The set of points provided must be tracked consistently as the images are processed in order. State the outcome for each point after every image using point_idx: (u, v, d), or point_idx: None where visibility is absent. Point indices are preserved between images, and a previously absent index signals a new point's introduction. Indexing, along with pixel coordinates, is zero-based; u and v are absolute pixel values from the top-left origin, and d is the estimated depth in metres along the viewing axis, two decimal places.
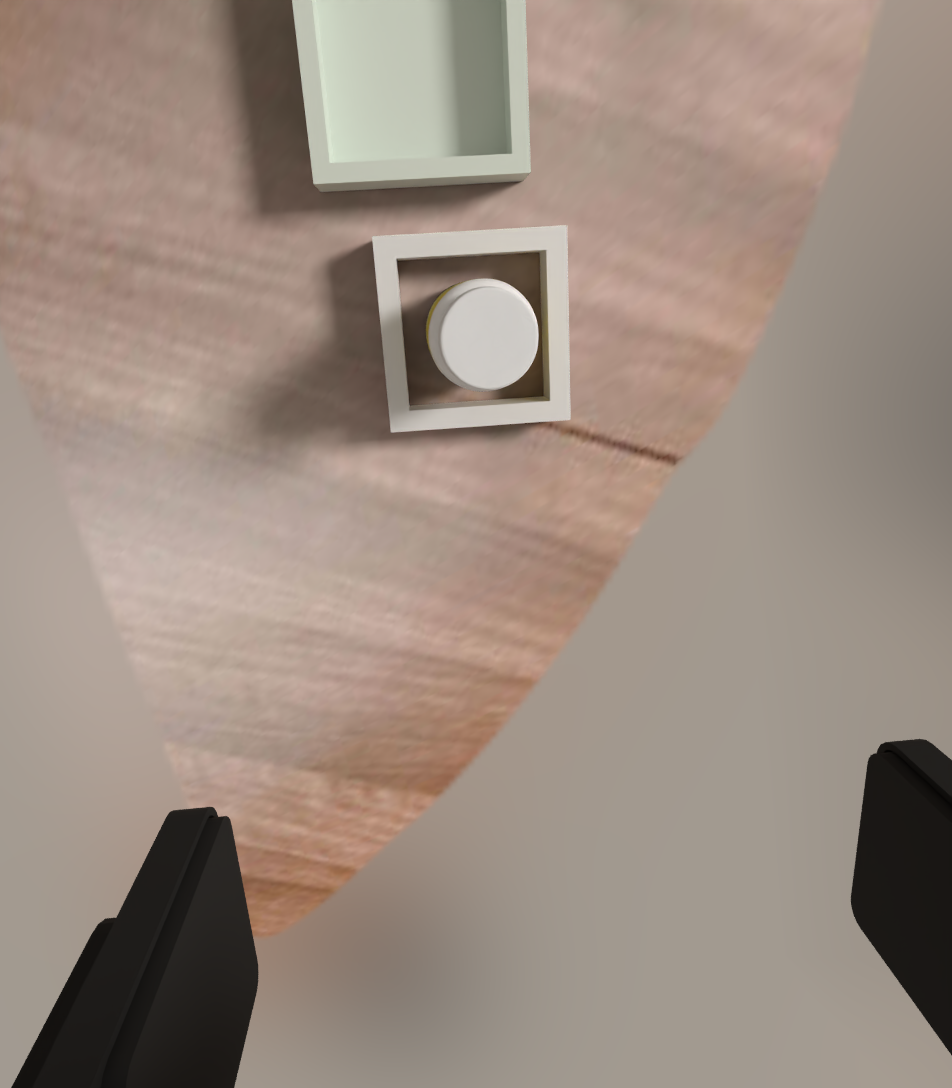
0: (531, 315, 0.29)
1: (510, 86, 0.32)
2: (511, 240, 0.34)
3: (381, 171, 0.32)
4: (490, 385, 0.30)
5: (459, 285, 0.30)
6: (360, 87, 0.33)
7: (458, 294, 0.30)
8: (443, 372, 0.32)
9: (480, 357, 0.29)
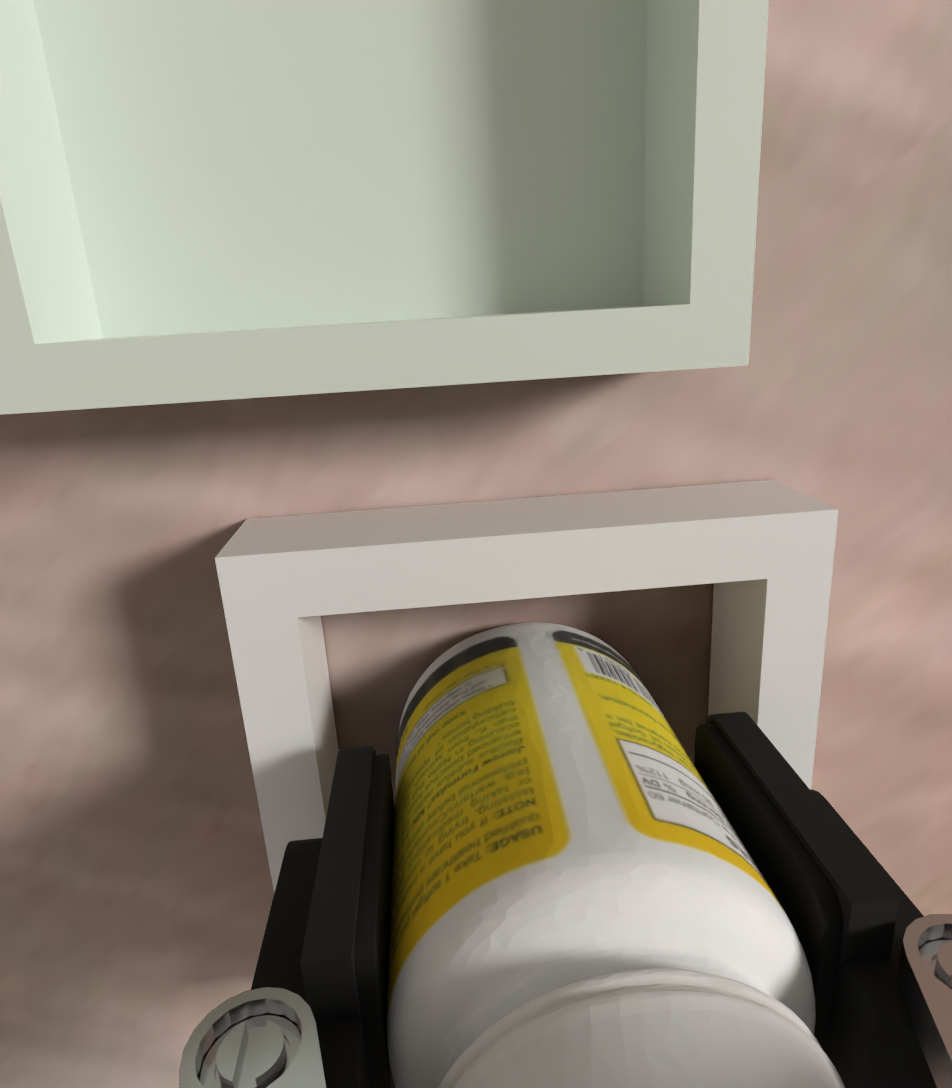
0: None
1: (700, 67, 0.08)
2: (662, 556, 0.11)
3: (227, 369, 0.09)
4: None
5: (513, 891, 0.07)
6: (169, 74, 0.10)
7: (510, 948, 0.07)
8: None
9: None
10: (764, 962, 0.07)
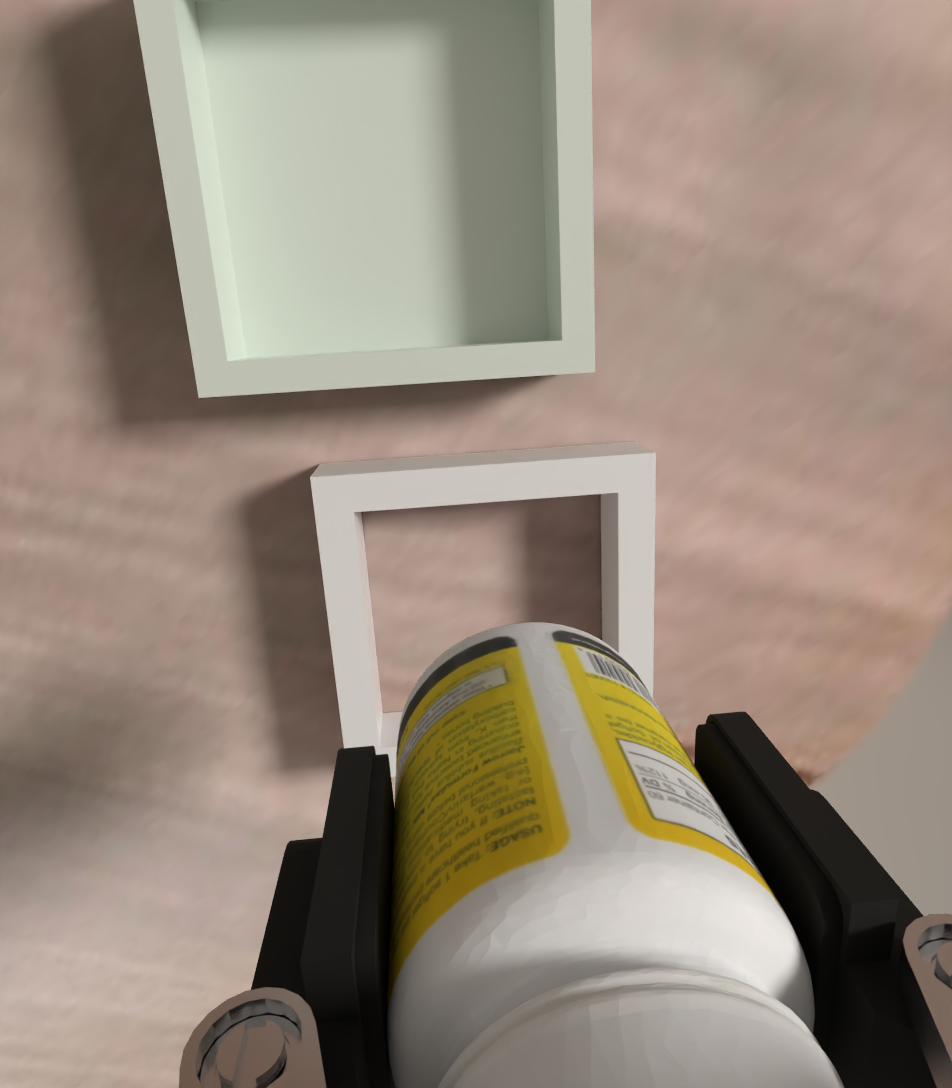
0: None
1: (561, 225, 0.17)
2: (557, 479, 0.19)
3: (323, 374, 0.18)
4: None
5: (513, 890, 0.07)
6: (289, 219, 0.18)
7: (510, 948, 0.07)
8: None
9: None
10: (763, 961, 0.07)
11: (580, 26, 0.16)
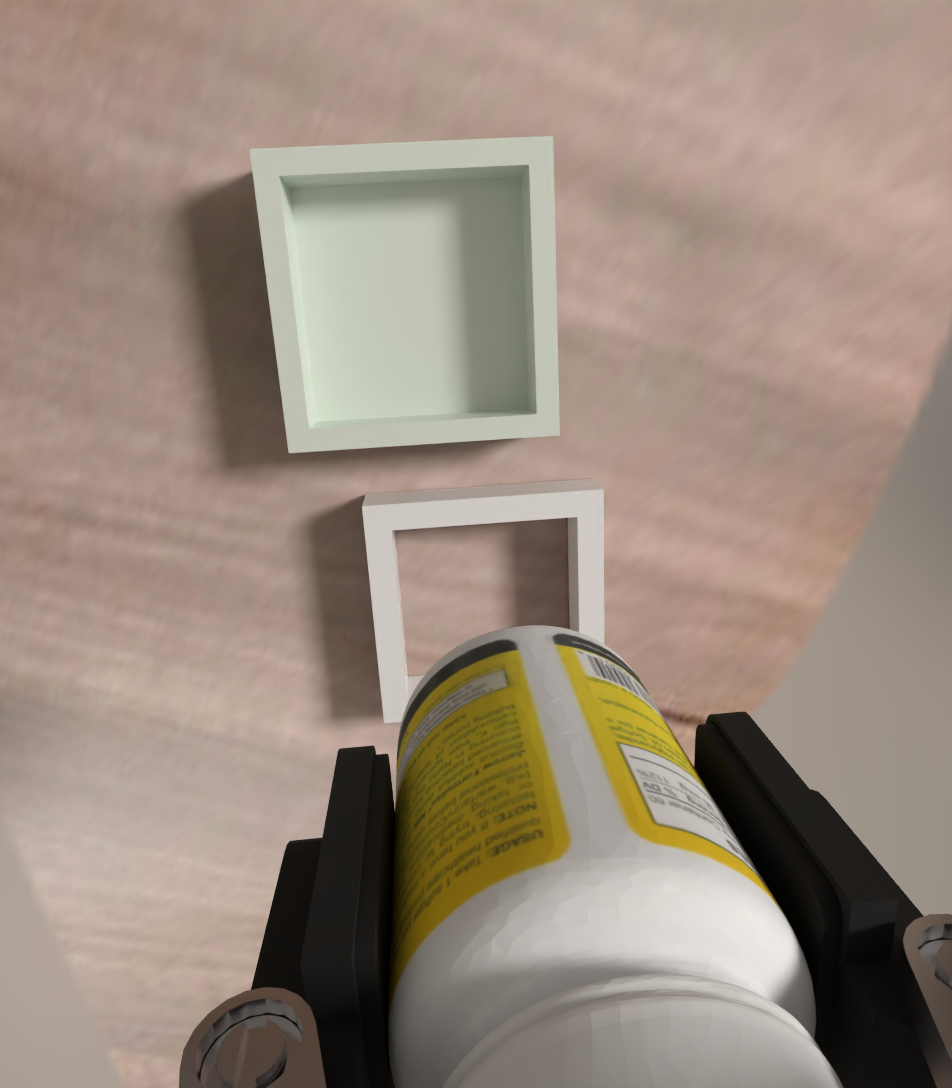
0: None
1: (535, 338, 0.25)
2: (534, 507, 0.27)
3: (373, 437, 0.26)
4: None
5: (514, 895, 0.07)
6: (349, 328, 0.27)
7: (511, 953, 0.07)
8: None
9: None
10: (764, 967, 0.07)
11: (547, 212, 0.24)
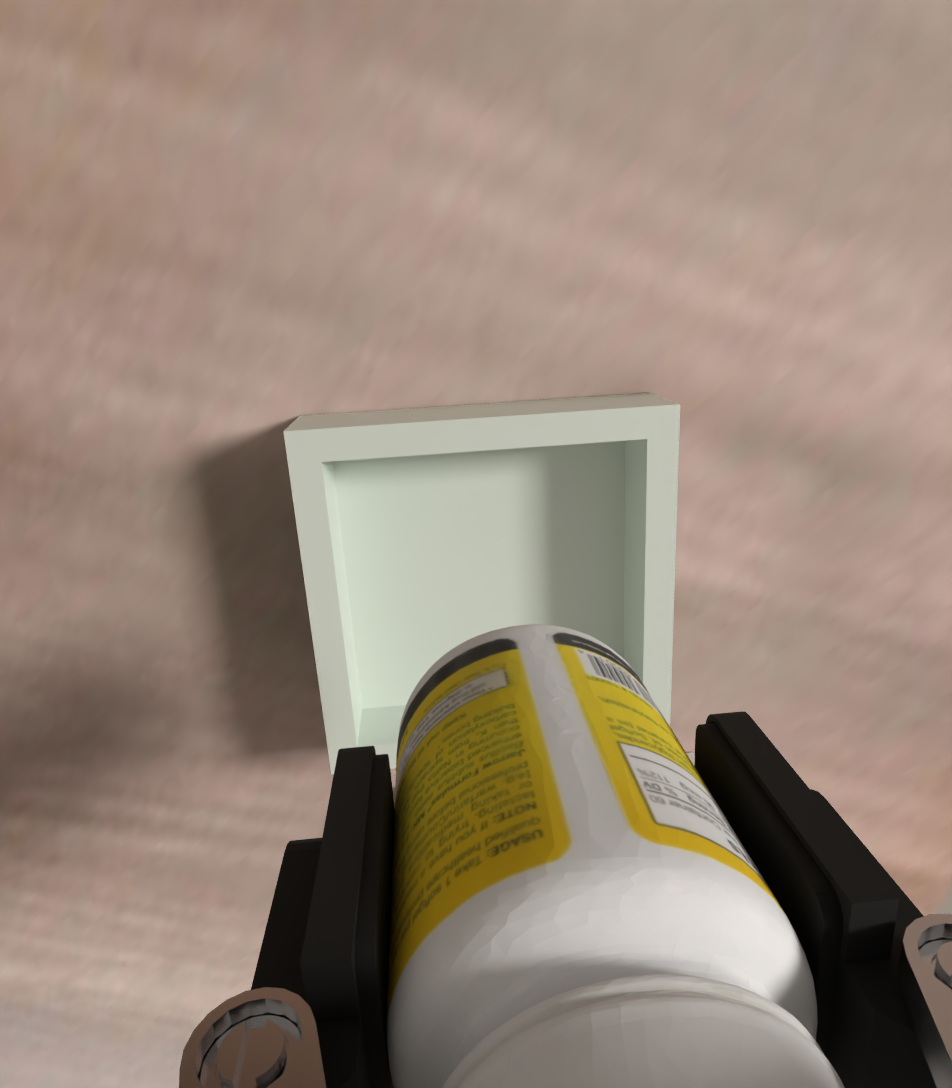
0: None
1: (645, 637, 0.20)
2: None
3: None
4: None
5: (514, 896, 0.07)
6: (404, 604, 0.21)
7: (511, 954, 0.07)
8: None
9: None
10: (766, 967, 0.07)
11: (668, 494, 0.19)
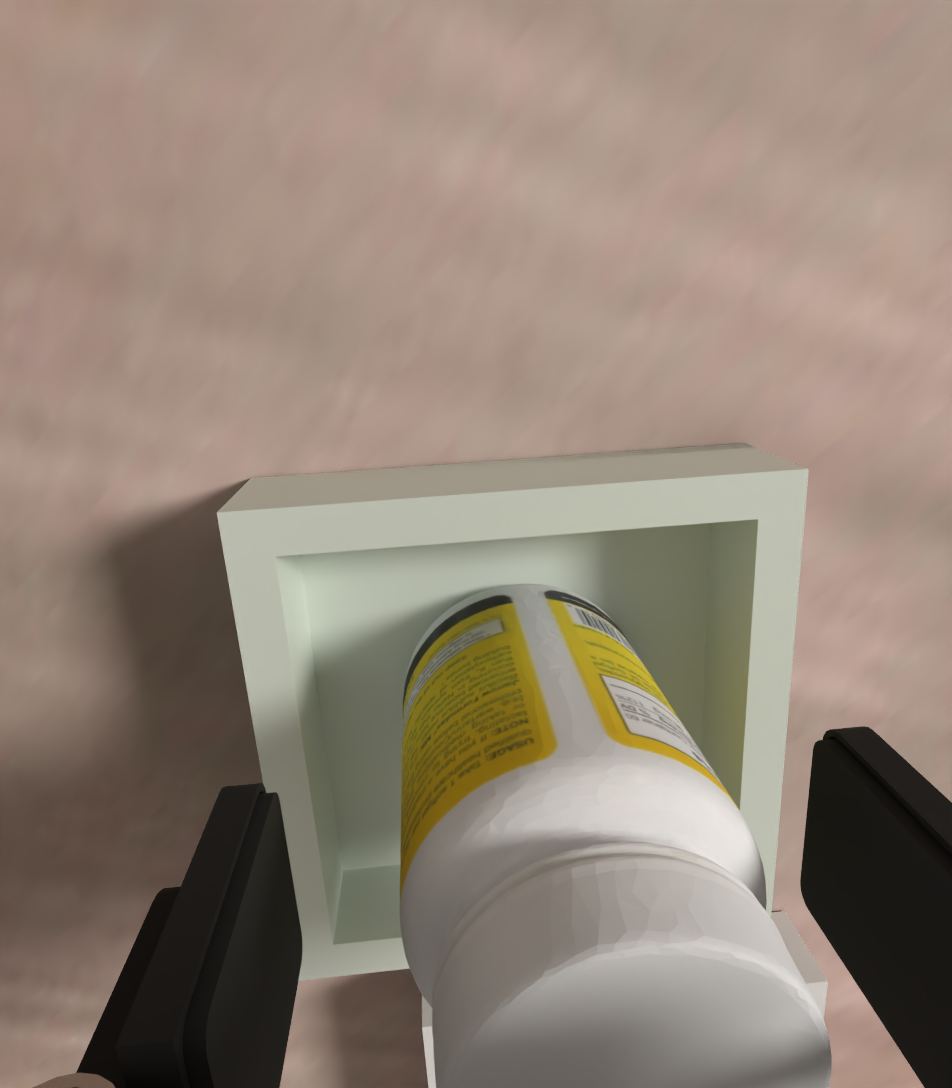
0: (815, 1019, 0.07)
1: (742, 792, 0.14)
2: None
3: None
4: None
5: (509, 787, 0.09)
6: (399, 734, 0.15)
7: (506, 832, 0.08)
8: None
9: None
10: (720, 847, 0.09)
11: (784, 596, 0.13)
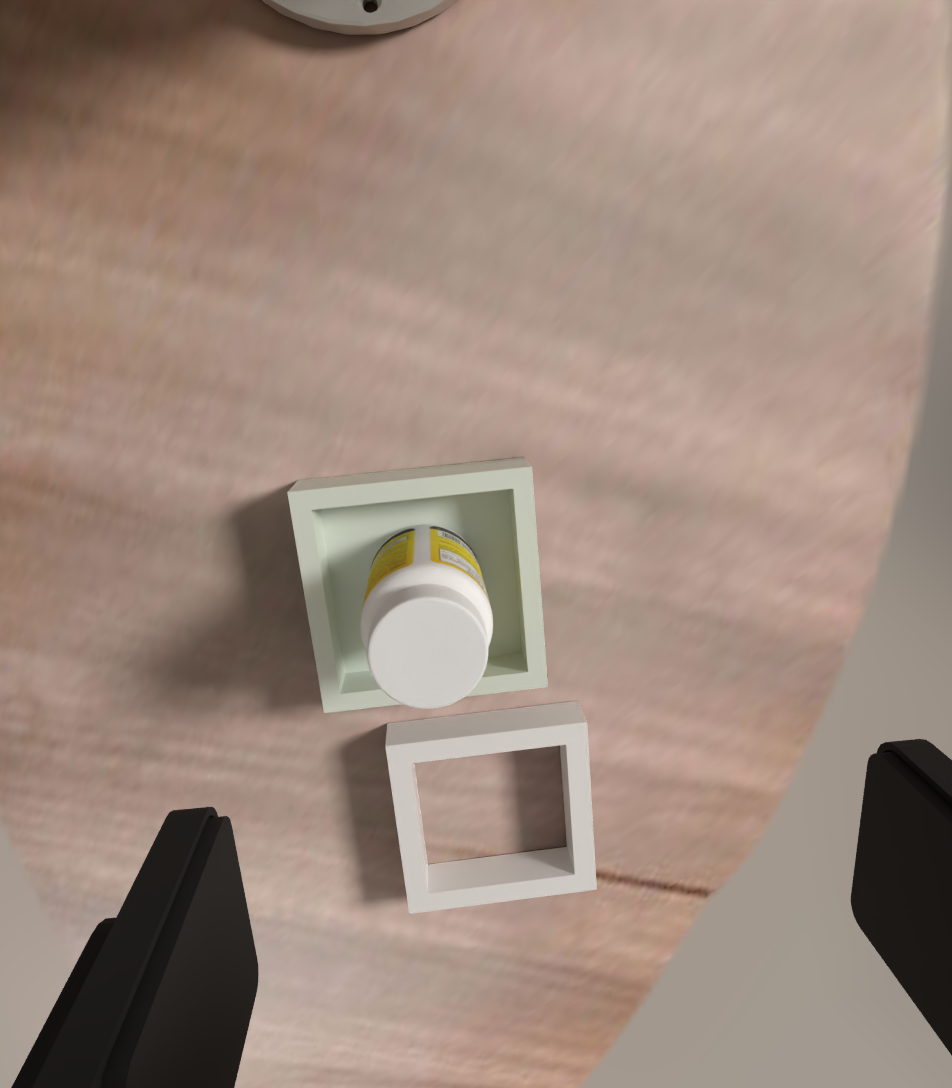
0: (478, 625, 0.24)
1: (524, 615, 0.31)
2: (529, 739, 0.33)
3: None
4: (432, 704, 0.24)
5: (394, 574, 0.25)
6: None
7: (392, 588, 0.25)
8: None
9: (417, 675, 0.24)
10: (466, 593, 0.25)
11: (530, 522, 0.29)
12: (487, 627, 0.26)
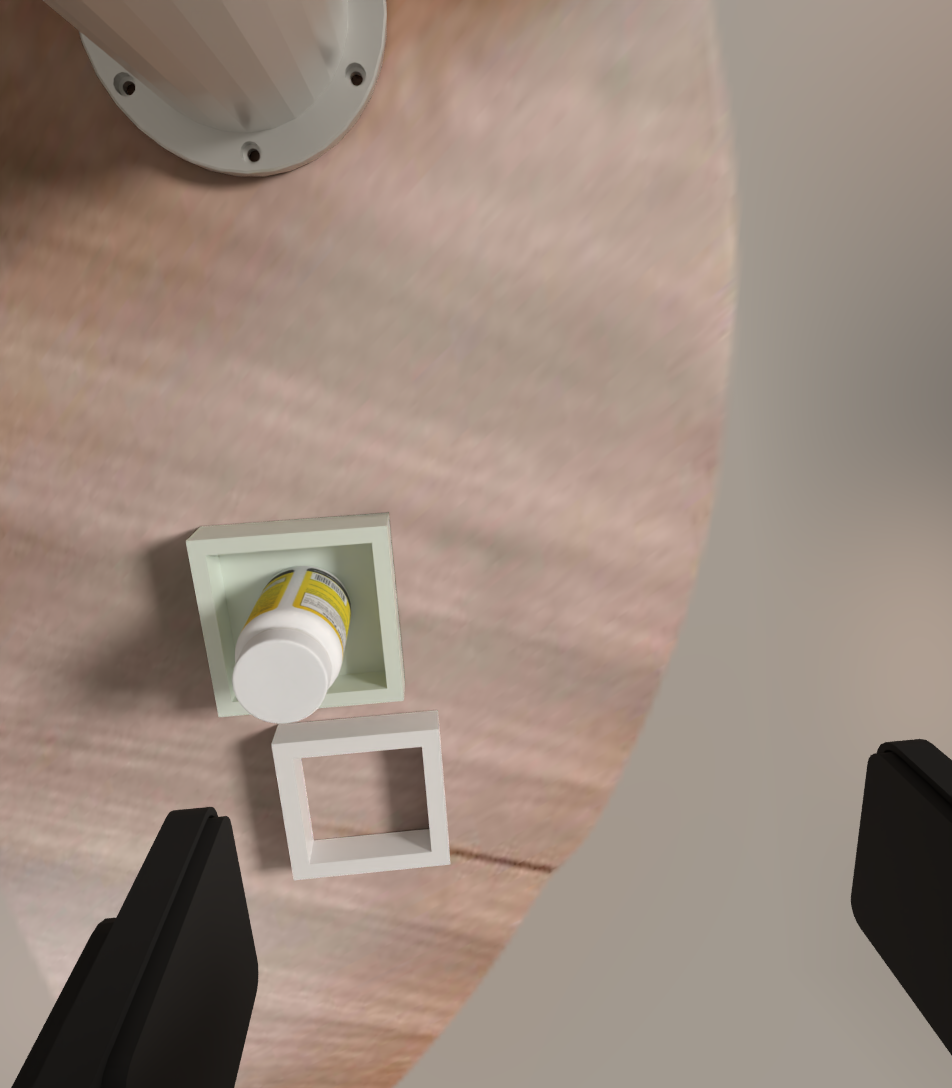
0: (318, 661, 0.31)
1: (383, 643, 0.37)
2: (391, 741, 0.40)
3: None
4: (284, 720, 0.31)
5: (260, 617, 0.32)
6: None
7: (258, 627, 0.32)
8: None
9: (271, 698, 0.31)
10: (317, 633, 0.32)
11: (386, 569, 0.36)
12: (335, 659, 0.33)
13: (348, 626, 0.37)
